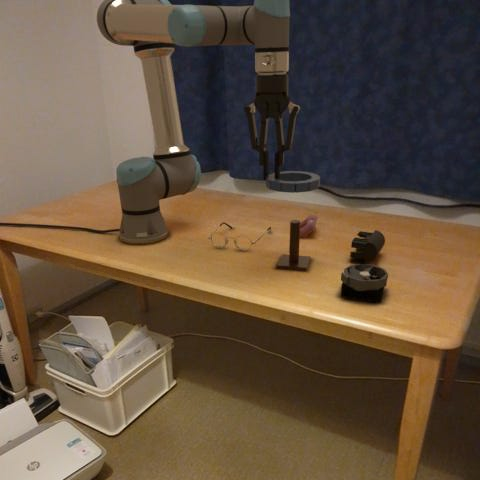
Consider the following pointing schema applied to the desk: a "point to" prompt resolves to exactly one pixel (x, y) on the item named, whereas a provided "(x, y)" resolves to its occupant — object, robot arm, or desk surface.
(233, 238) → the eyeglasses
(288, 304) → the desk surface
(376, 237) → the end cap
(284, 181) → the dark blue segmented ring
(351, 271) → the cpu cooler
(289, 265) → the stand
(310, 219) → the video game controller
